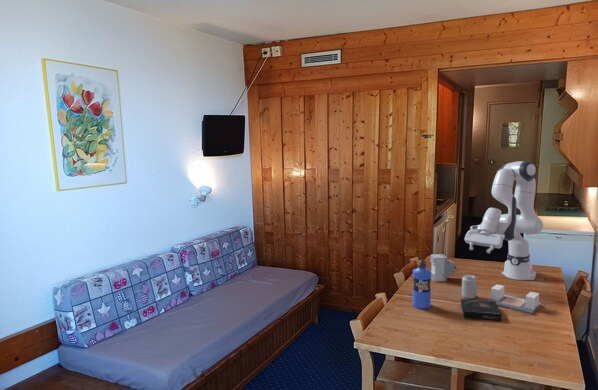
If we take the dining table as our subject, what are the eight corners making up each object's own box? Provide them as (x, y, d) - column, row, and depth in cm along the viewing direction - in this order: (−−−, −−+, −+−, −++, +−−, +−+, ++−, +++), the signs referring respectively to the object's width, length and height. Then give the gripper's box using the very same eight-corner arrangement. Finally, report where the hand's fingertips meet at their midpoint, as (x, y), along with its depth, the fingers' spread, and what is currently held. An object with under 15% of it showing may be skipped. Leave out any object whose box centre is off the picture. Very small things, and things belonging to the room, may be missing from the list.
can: (460, 298, 229) (461, 277, 227) (462, 293, 235) (462, 273, 234) (475, 300, 225) (476, 278, 224) (476, 295, 232) (477, 274, 230)
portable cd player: (494, 308, 215) (495, 300, 215) (501, 322, 199) (501, 314, 198) (460, 305, 220) (460, 298, 219) (464, 319, 203) (464, 311, 203)
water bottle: (431, 309, 215) (432, 262, 211) (413, 308, 217) (413, 262, 213) (429, 302, 224) (430, 257, 220) (411, 301, 226) (412, 257, 222)
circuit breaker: (456, 281, 256) (457, 257, 254) (433, 281, 256) (433, 257, 254) (452, 277, 263) (453, 254, 261) (429, 277, 264) (430, 254, 262)
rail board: (497, 295, 231) (497, 282, 230) (541, 305, 216) (541, 292, 215) (486, 303, 221) (486, 290, 220) (531, 314, 205) (532, 300, 204)
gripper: (507, 237, 236) (499, 257, 230) (471, 231, 250) (463, 251, 245) (504, 230, 232) (497, 251, 226) (468, 225, 246) (460, 245, 241)
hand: (479, 251), depth 236 cm, fingers open, 8 cm apart
